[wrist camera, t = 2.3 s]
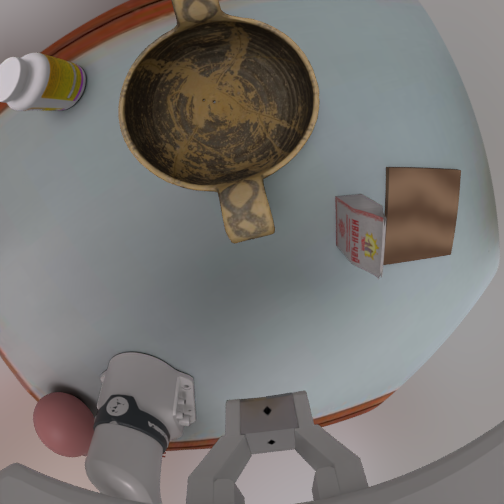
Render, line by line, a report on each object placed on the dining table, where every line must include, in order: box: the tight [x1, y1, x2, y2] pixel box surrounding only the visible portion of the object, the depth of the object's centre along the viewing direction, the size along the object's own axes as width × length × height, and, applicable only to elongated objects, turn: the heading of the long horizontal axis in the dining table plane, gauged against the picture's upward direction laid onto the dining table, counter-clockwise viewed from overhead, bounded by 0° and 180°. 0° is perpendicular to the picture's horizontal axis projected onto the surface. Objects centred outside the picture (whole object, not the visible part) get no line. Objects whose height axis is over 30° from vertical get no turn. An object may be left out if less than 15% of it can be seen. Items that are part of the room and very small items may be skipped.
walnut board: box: [383, 167, 461, 265], centre depth 36 cm, size 14×14×1 cm
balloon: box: [33, 392, 94, 457], centre depth 43 cm, size 15×20×15 cm
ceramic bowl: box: [119, 0, 320, 243], centre depth 23 cm, size 22×17×15 cm
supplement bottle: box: [0, 53, 86, 111], centre depth 20 cm, size 7×7×13 cm
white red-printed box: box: [336, 194, 386, 278], centre depth 31 cm, size 4×7×10 cm, turn 7°
